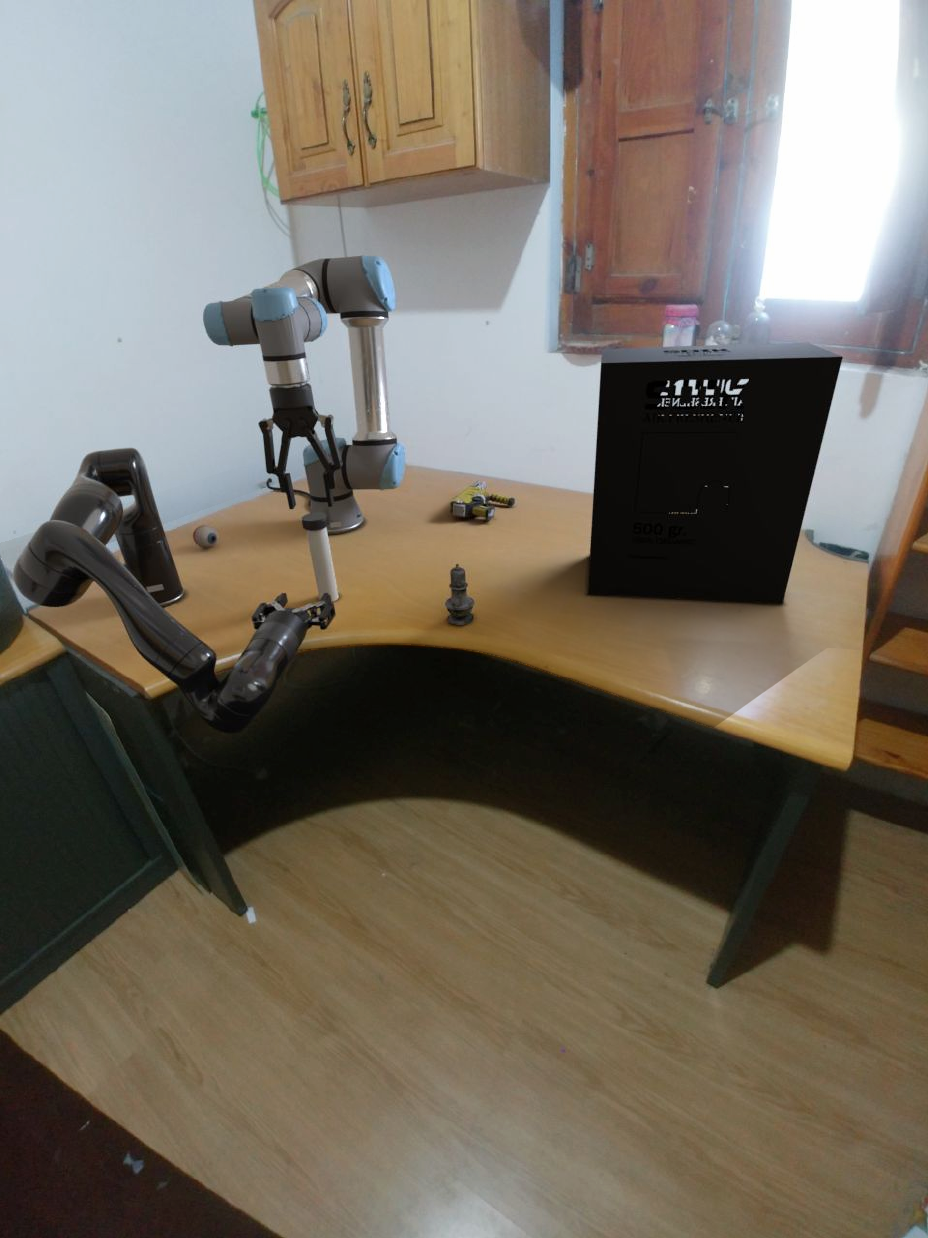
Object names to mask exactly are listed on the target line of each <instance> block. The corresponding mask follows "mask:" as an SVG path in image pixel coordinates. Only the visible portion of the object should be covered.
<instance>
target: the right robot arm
mask: <svg viewBox="0 0 928 1238" xmlns="http://www.w3.org/2000/svg"><path fill="white" fill-rule="evenodd" d="M394 286H395V285H394V281H393V277H392V274H391V271H390V268H389V266H388V264H387V263H386V261H385V260H384V258H382V257H380V256H379V255H364V254H362V255H356V256H344V257H329V258H326V257H325V258H317V259H314V260H312V261H309V262H306V263H303V264H301V265H299V266H296V267H294V268H292V269H289V270H287V271H285V272H284V273H283V274H282V275H281V276H280V278H279V280H278V281H275V282H273V283H270V284H269V285H266V286H263V287H261V288H254V289H252V291H251V292H250V293H247V294H246V295H243V296H240V297H238V298H235V299H233V300H229V301H222V300H219V301H216V302H210V303H207V305H205V307H204V309H203V313H202V322H203V326H204V329H205V333H206V335H207V337H208V339H209V340H210V341H211V342H212V343H213V344H215V345H217V346H229V347H234V346H247V345H248V346H249V345H250V346H251V345H259V347H260V350H261V355H262V357H261V358H262V361H263V367H264V372H265V377H266V382H267V384H268V385H270V387H269V388H268V392H269V398H270V402H271V407H272V416H271V417H269V418H262V419H261V420H260V421H259V422H258V427H259V430H260V432H261V434H262V441H263V450H264V451H263V453H264V460H265V461H264V463H265V471H266V473H267V474H268V475H271V474H272V475H275V476H276V477H277V479H278V485H279V487H277V486H276V487H275V486H271V485H270V483H272V482H273V479H272V478H271V477H269V478H268V479H266V484H265V485H266V488H267V489H269V490H271V491H280V492H281V493H286V498H287V504H288V509H289V510H294V509H295V507H296V506H297V502H296V498H295V497H296V496H295V493H297V494H302V495H304V496H307V497H309V500H308V506H309V513H315V512H321V513H325V514H326V515H327V518H328V526H327V527H326V528H327V534H328V536H331V535H339V534H340V535H341V534H345V533H350V532H353V531H355V530H357V529H359V528H361V527H362V526H363V525H364V523H365V519H364V514H363V512H362V510H361V508H360V505H359V504H358V501H357V500H356V498H355V495H354V490H359V491H360V490H361V491H362V490H380V491H384V490H385V491H386V490H395V489H397V488H398V487H400V485H401V484H402V481H403V478H404V475H405V469H406V451H405V449H406V448H405V446H404V445H403V444H401V443H398V436H397V435H396V434H395V433H394V431H392V430H391V420H390V406H389V404H390V403H389V392H388V378H387V377H388V376H387V364H386V363H387V362H386V350H385V349H386V348H385V336H384V335H385V333H384V328H385V326H386V324H387V323H388V322H389V320H390V318H389V313H391V312H392V311H394V310H395V308H396V291H395V287H394ZM327 314H329V315H330V314H332V315H333V314H335V315H336V314H337V315H338V314H339V317H340V322H341V323H342V324H343V325H344V326H345V327H346V329H347V334H348V336H347V337H348V347H349V357H350V358H349V359H350V368H351V378H352V390H353V400H354V401H353V402H354V412H355V423H356V433H354V435H353V436H352V437H351V444H348V443H347V441H346V439H345V438H344V437H336V433H335V430H334V419H335V418H334V416H333V414H328V415H325V414H319V412H318V411H317V408H316V407H315V401H314V395H313V389H312V385H311V384H310V383H308V382H309V381H310V379H311V377H310V371H309V365H308V359H307V353H306V347H305V343H308V342H310V343H312V342H315V341H317V340H318V339H319V338H321V337H322V336H323V335H324V334H325V332H326V330H327V328H328V316H327ZM318 422H319V423H320V427H322V428H323V429H324V434H325V439H322V440H320V438H319V437H318V433H317V431H316V430H315V427H316V425H317V423H318ZM274 425H275V426H276V427H277V429H279V430H280V431H281V432H282V433H281V440H280V449H279V454H278V460H277V465H276V455H275V446H274V434H273V429H274V427H275V426H274ZM294 438H306V440H307V441H308V443H309V444H308V445H307V446H305V447H304V448H303V450H302V457H303V459H302V460H303V467H304V471H305V477H306V481H307V486H308V492H307V491H304V490H300V489H294V486H293V482H292V477H291V473H290V472H287V464H288V460H289V459H288V458H289V453H290V449H291V448H290V447H291V441H292V439H294Z"/></svg>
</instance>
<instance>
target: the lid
mask: <svg viewBox="0 0 928 1238" xmlns="http://www.w3.org/2000/svg"><path fill="white" fill-rule="evenodd" d="M301 525H302V529H303V530H305V531H306V530H309V531H314V530H320V529H323V528H326V527H327V526H328V518H327V515H326V514H325V513H321V512H315V513H310V512H309V513H306V514H303V515H302V516H301Z"/></svg>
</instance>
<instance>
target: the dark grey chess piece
mask: <svg viewBox="0 0 928 1238" xmlns="http://www.w3.org/2000/svg"><path fill="white" fill-rule="evenodd" d="M449 575H450V583H449V585H448V586H449V589H450V594H451V595H450V597H449V598H447V599H446V600H445V601H444V606H445V608H446V610H447V612H448V613H449V615H447V618H446V620H447V622H448V623H450V625H451V624H452V625H453V626H464V625H468V624H470V623H472V622H473V621H474V619H475V616H474V614H473V613H472V611H473V609H474V606H475V600H474V598H472V597H471V596H469V595H468V593H467V592H468V591H467V588H468V586H469V583H467V580H466V570H465V568H463V567H461V566H460V564H459V563H456V564H455V567H453V568H451V570H450V573H449Z"/></svg>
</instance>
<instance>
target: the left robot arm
mask: <svg viewBox="0 0 928 1238" xmlns="http://www.w3.org/2000/svg"><path fill="white" fill-rule="evenodd" d="M151 485H152V484H151V481H150V477H149V473H148V469H147V466H146V463H145V460H144V458H143V456H142V454H141V453H140V452H139V450H138V449H136V448H135V447H121V448H112V449H102V450H95V451H92V452H89V453H87V454H86V455H85V456H84V457H83V458H82V461H81V463H80V466H79V468H78V471H77V474H76V477H75V478H74V480H73V482H72V483H71V484H70V486H69V487H68V489H67V490H66V491H65V492H64V494H63V495H62V497H61V498H60V499H59V500H58V502H57V504H56V506H55V507H54V510H53V512H52V514H51V516H50V518H49V520H48V521H44V523H42V524H41V525H39V527H38V528H37V530H36V531H35V532H34V534H33V535H32V536H31V538H30V540H29V541H28V543H27V544H26V545H25V547H24V549H23V550H22V552H21V554H20V555H19V556H18V557H17V560H16V561H15V563H14V566H13V568H12V569H13V570H12V579H13V582H14V584H15V586H16V589H17V590H18V591H19V592H20V594H21V595H22V596H23V597H24V598H26V599H27V600H29V601H30V602H32V603H33V604H35V605H39V606H42V607H47V608H63V607H67V606H70V605H72V604H74V603H76V602H77V601H79V600H80V599H81V598H83V596H84V595H85V593H87V591H88V590H89V588H90V587H91V585H92V584H93V582H95V583H96V584H97V585H98V586H99V587H100V589H102V591H104V593H105V594H106V596H107V597H108V599H109V600H110V601H111V603H112V604H113V606H114V608H115V610H116V611H117V613H118V615H119V618H120V620H121V622H122V624H123V626H124V629H125V631H126V634H127V636H128V637H129V640H130V642H131V643H132V645H133V647H134V648H135V650H136V651H137V652H138V654H139V655H140V656H141V657H142V658H143V659H144V660H145V662H147V663H148V664H149V665H150V666H151V667H153V668H155V670H157V671H158V672H160V673H161V674H162V675H164V677H166V678H167V679H169V680H170V681H171V682H172V683H174V684H175V685H176V686H177V687H178V688H179V690H180V692H182V694H183V696H184V697H185V698H186V700H187V701H188V702H189V703H190V705H191V707H192V708H193V709H194V710H195V711H196V713H197V714H198V716H200V718H201V719H202V720H203V721H204V722H205V723H206V724H207V725H208V726H210V727H211V728H212V729H214V730H216V731H218V732H220V733H224V734H232V735H233V734H239V733H240V732H243V731H244V730H245V729H246V728H247V727H248V726H249V725H250V724H251V722H252V721H253V720H254V719H255V718H256V716H257V715H258V714H259V712H260V711H261V710H262V709H263V708H264V706H265V705H266V704H267V703H268V701H269V699H270V698H271V696H272V695H273V692H274V690H275V688H276V684H277V681H278V680H279V679H280V677H281V675H282V674H283V672H284V670H285V669H286V667H287V666H288V664H290V663H291V661H292V660H293V658H294V657H295V655H296V653H297V652H298V650H299V648H300V647H301V645H302V643H303V642H304V640H305V638H306V635H307V632H308V630H309V629H310V628H312V627H313V626H314V627H315V626H317V627H319V630H322V631H324V630H327V629H328V628H329V626H330V624H331V623H332V621H333V620H334V618H335V617H336V615H337V614H336V608H335V604H334V602H331V596H330V595H329V593H324V594H323V596H322V597H321V599H319V601H318V602H315V603H312V602H310V603H308V604H306V605H303V606H301V607H286V605H287V604H288V595H287V593H286V592H281V593H280V595H278V596H276V597H275V599H274V600H272V601H270V603H267V602H261V603H260V604H259V605H258V606H257V608H256V609H255V611H254V612H253V614H252V615H251V622H252V625H253V628H254V630H256V631H255V632H254V633H253V635H252V636H251V638H250V640H249V643H248V644H247V646H246V647H245V648H244V649H243V651H242V652H241V654H240V655H239V657H238V659H237V661H236V663H234V665H233V666H232V667H231V668H230V669H229V670H228V672H227V673H226V674H225V676H224V677H223V678H222V680H221V681H220V679H219V678H218V676H217V674H216V673H215V668H216V664H217V659H218V657H217V656H218V655H217V653H216V652H215V650H214V649H212V647H211V646H209V645H208V644H206V642H204V641H203V640H202V639H201V638H199V637H198V636H196V634H194V633H193V632H192V631H191V630H190V629H188V628H187V627H186V626H184V625H183V624H182V623H180V621H178V620H177V619H176V618H175V617H173V616H172V615H171V614H170V613H169V611H167V610H166V609H165V608H164V607H167V606H171V605H173V604H175V603H177V602H179V601H181V600H182V599H183V598H184V596H185V589H184V587H183V585H182V581H181V579H180V576H179V572H178V570H177V567H176V563H175V560H174V556H173V554H172V551H171V547H170V544H169V542H168V538H167V535H166V532H165V529H164V526H163V522H162V520H161V516H160V514H159V509H158V507H157V503H156V500H155V496H154V492H153V489H152V486H151ZM129 496H133V499H134V502H133V503H131V504H130V505H129V506H127V507H125V508H124V505H123V502H122V500H121V497H129ZM113 536H114V537H115V539H116V543H117V544H118V547H119V550H120V553H121V556H122V559H123V561H124V563H123V562H122V561H120V559H119V558H117V556H116V555H115V554H114V553H113V552H112V550H111V549H109V548H108V547H107V544H108V543H109V542H110V540H112V538H113ZM285 607H286V608H285ZM318 609H319V611H318ZM308 611H309V612H308Z"/></svg>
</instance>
